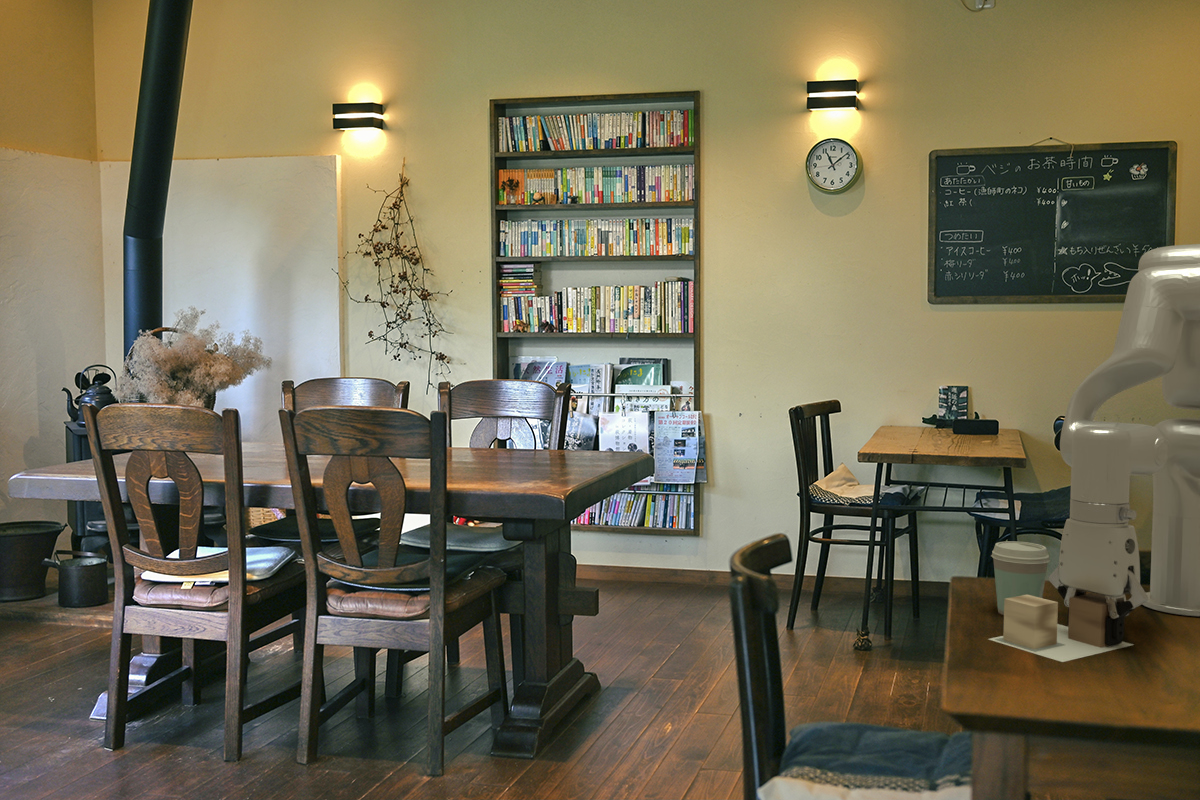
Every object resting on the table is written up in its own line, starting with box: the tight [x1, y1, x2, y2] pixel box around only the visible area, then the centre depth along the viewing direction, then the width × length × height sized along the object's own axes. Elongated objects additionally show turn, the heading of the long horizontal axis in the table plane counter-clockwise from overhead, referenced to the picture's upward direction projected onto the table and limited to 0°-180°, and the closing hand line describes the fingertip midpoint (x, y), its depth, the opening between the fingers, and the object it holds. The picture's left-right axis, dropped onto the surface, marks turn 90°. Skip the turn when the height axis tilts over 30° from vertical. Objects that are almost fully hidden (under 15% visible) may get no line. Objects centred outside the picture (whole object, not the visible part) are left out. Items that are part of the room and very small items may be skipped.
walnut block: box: [1067, 592, 1110, 648], centre depth 144 cm, size 5×5×6 cm
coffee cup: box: [990, 540, 1051, 616], centre depth 158 cm, size 8×9×12 cm
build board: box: [988, 623, 1134, 663], centre depth 143 cm, size 16×12×1 cm
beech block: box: [1002, 595, 1059, 649], centre depth 143 cm, size 5×5×6 cm
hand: (1094, 637), depth 144 cm, fingers closed on walnut block, 5 cm apart
